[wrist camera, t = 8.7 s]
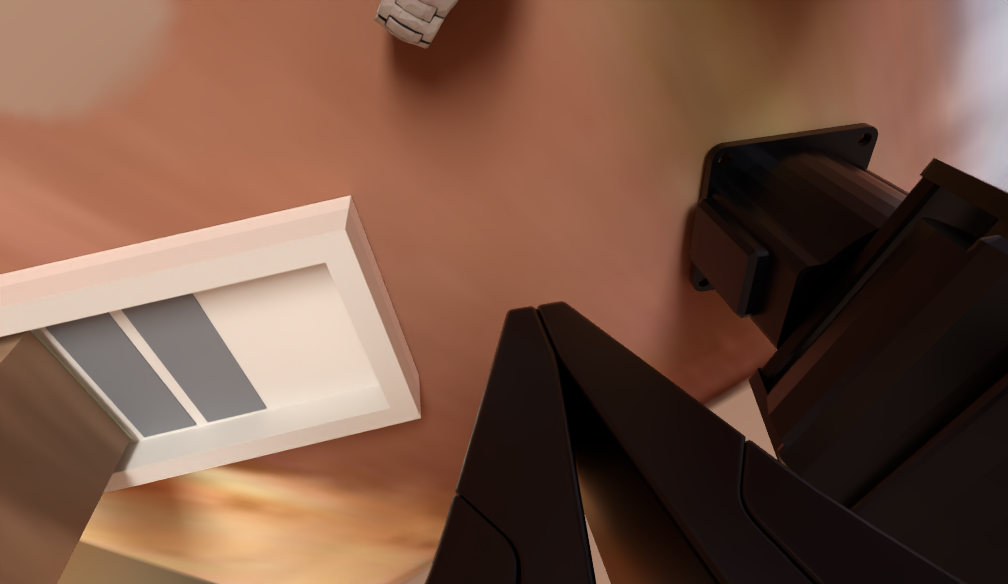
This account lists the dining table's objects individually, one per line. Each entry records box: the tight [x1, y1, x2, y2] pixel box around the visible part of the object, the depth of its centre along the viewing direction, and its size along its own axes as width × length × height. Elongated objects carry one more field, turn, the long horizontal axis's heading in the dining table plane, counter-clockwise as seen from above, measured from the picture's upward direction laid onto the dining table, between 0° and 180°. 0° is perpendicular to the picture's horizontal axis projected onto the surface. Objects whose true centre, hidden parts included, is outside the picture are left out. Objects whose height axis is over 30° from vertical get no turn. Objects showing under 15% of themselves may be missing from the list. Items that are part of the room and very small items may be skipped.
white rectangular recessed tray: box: [0, 195, 421, 493], centre depth 21 cm, size 17×9×2 cm, turn 100°
